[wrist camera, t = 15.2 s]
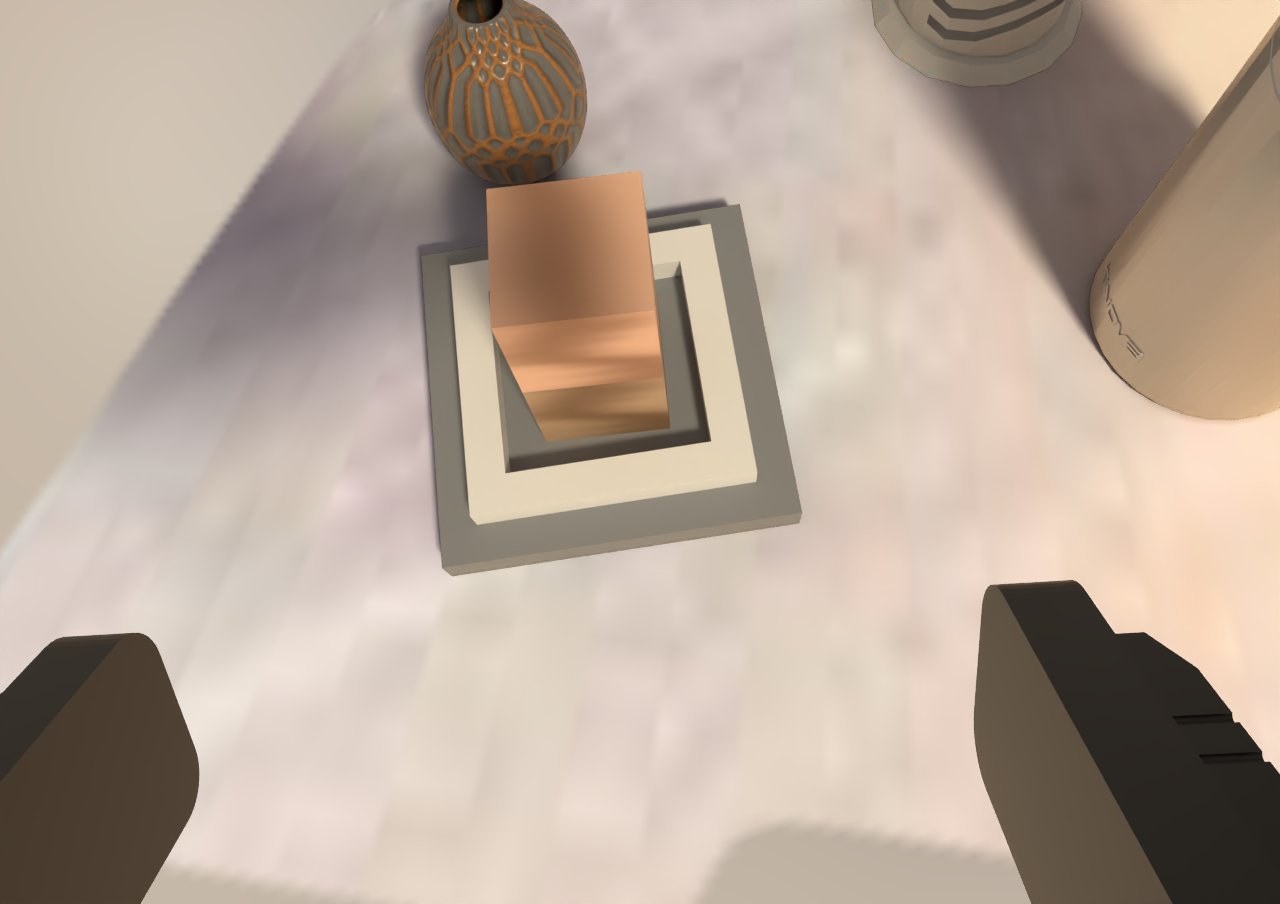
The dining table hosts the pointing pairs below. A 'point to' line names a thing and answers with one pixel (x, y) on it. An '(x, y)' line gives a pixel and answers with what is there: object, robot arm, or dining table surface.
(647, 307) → the copper rectangular block
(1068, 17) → the french press
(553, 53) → the vase
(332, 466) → the dining table surface
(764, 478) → the pocket board
